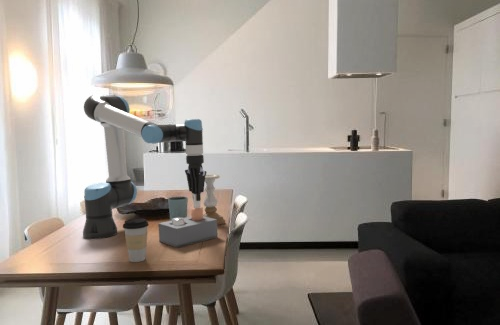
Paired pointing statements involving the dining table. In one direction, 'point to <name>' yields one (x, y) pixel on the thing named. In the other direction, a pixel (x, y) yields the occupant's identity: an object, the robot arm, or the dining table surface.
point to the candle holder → (211, 200)
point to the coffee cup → (136, 238)
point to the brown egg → (196, 214)
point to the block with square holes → (187, 232)
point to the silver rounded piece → (178, 221)
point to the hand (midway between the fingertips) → (197, 207)
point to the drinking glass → (177, 207)
